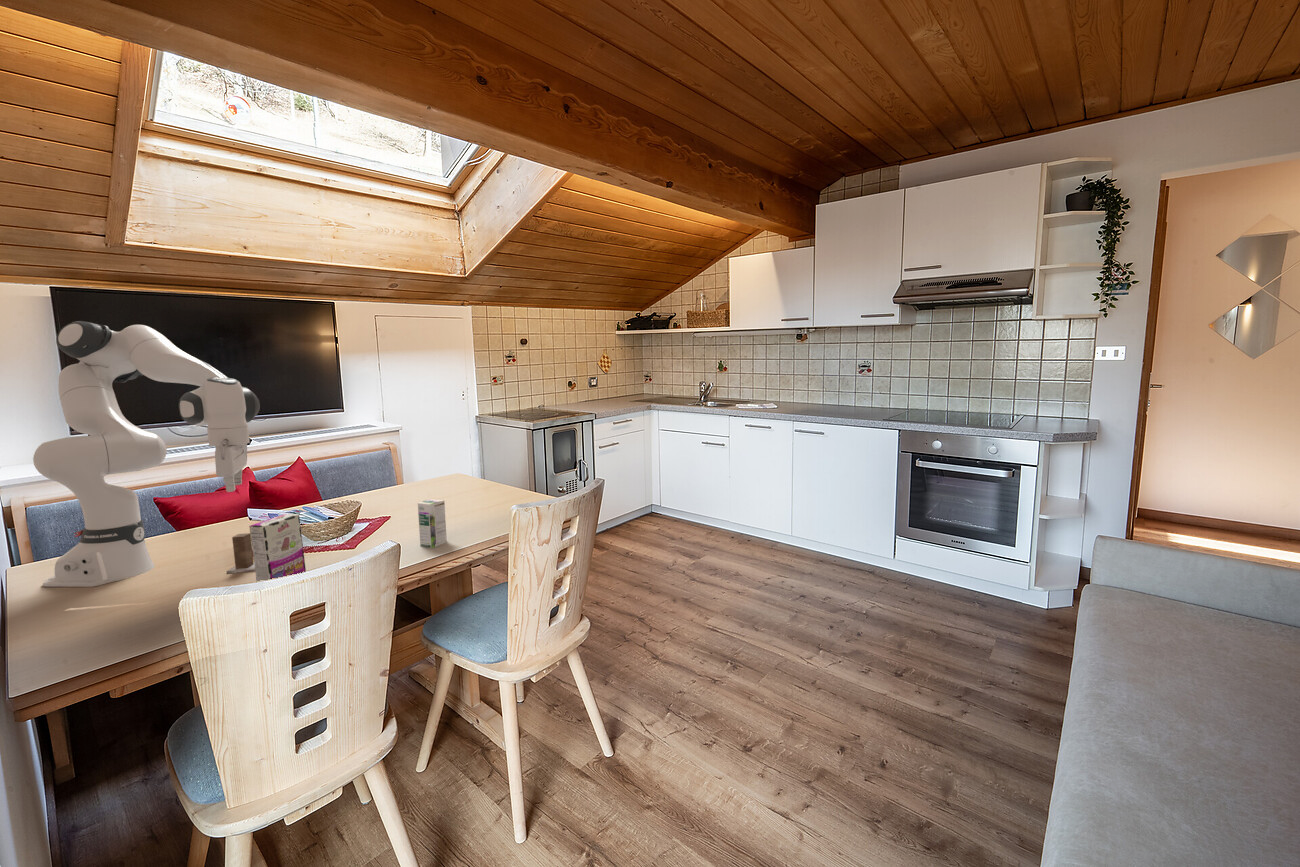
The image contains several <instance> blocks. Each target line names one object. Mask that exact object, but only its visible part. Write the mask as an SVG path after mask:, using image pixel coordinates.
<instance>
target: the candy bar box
mask: <svg viewBox="0 0 1300 867" xmlns="http://www.w3.org/2000/svg"><path fill="white" fill-rule="evenodd" d="M248 527H249V532H250V535H251V544H252V554H253V563H254V565H255V580H256V582H257V581H260V580H268V579H272V578H278V577H283V576H287V575H292V574H297V573H300V572H303V571H305V572H306V571H307V570H306V560H305V554H304V545H303V535H302V528H301V527H302V526H301V519H300V514H299V513H297V514H296V513H284V514H281V515H278V516H275V517H271V518H269V519H268V518H267V519H266V520H265V519H264V520H262V521H260V522H256V523H253V524H251V525H249V526H248ZM303 573H304V572H303Z"/></svg>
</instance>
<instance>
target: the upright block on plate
mask: <svg viewBox="0 0 1300 867" xmlns="http://www.w3.org/2000/svg"><path fill="white" fill-rule="evenodd" d="M231 540H232V546H233V547H232V548H233V556H234V557H233V558H234V565H235V566H233V567H231V568H229V569H228V570H226V574H227V575H228V574H238V573H237V572H243V573H253V572H252V571H255V565H254V557H253V550H252V542H251V535H250V533H249V532H248V533H237V534H236V535H233V536H232V537H231Z"/></svg>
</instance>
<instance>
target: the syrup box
mask: <svg viewBox="0 0 1300 867" xmlns="http://www.w3.org/2000/svg"><path fill="white" fill-rule="evenodd" d="M445 502H446V501H445V500H441V499H440V500H438V499H432V498H431V499H425V500H422V501H419V502H418V503H417V515H418V530H419V546H420V547H424V548H433V549H435V548H437V547H438V546H441V545H445V543H448V541H447V523H446V522H447V521H446V507H445V506H446V505H445Z"/></svg>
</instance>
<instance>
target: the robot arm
mask: <svg viewBox="0 0 1300 867" xmlns="http://www.w3.org/2000/svg"><path fill="white" fill-rule="evenodd" d="M55 343H56V346H57V348H58V349H59V350H60V351H61V352H63V353H64V354H66V355H67V356H69V357H71V358H73V359H77V360H78V361H79V362H78V363H73V364H70V365H67V366H66V367H64V368H63V369H62V370H61V371H60V372H59V375H58V396H59V401H60V405H61V408H62V412H63V415H64V416H63V417H64V419H65V422H66V424H67V425H68V426H69V427H70V428H72V429H73V430H74V431H75V432H78V433H81V434H84V435H81V436H69V437H67V436H66V437H64V438H63V437H62V438H58V439H53V440H49V441H45V442H42V443H41V444H39V445H38V447H37V448H36V449H35V451H34V453H33V458H32V460H33V465H34V468H35V469H36V470H37V472H38V473H39V474H41V475H42V476H43V477H45V478H47V479H49V480H52V481H55V482H57V483H60V484H61V485H62V486H64V487H65V488H67V489H68V490H69V491H71V492H72V493H73V494H74V496H75V497H76V498H77V501H78V502H79V504H80V508H81V511H82V512H81V513H82V515H83V521H84V526H85V527H84V528H83V529H82V530H80V531H76V532H74V538H76V537H79V536H80V538H79V542H78V543H77V544H76V545H74V547H72V548H71V549H70V550H68V551H67V552H66V553H64V554H63V555H62V556H60V557H59V558H58V559H57V560H56V562H55V564H54V575H52V576H51V577H48V578H47V579H46V580H45V579H44V581H43V583H42V586H43V587H69V588H70V587H71V588H72V587H74V588H75V587H81V588H84V587H85V588H87V587H89V588H90V587H91V588H93V587H98V586H102V585H106V584H109V583H113V582H117V581H122V580H126V579H129V578H132V577H136V576H139V575H141V574H145V573H147V572H149V571H151V570H153V569H155V567H156V566H155V563H154V562H153V560H152V558H151V556H150V554H149V553H150V552H149V550H148V548H147V543H146V539H145V538H146V534H145V533H146V532H145V531H146V530H145V525H144V520H143V519H142V518H141V511H140V502H139V496H138V495H137V493H136V492H135V491H133V490H132V489H130V488H126V487H124V486H123V487H122V486H120V485H113V484H109V483H108V482H106V481H105V478H104V477H106V476H108V475H117V474H123V473H124V474H126V473H132V472H141V471H144V470H148V469H152V468H156V467H158V466H160V465H162V463H163V462H164V461H165V458H166V456H167V445H166V443H165V441H164V440H163V439H162V438H161V437H160V435H158V434H156V433H154V432H150V431H147V430H145V429H142V428H140V427H138V426H137V425H135V424H133V423H132V422H131V421H129V419H127V418H126V417H125V416H124V414H123V413H122V410H121V409H120V408H121V407H120V406H119V404H118V400H117V397H116V394H115V391H114V389H113V383H118V384H120V383H121V384H123V383H127V382H128V381H130V380H131V381H132V380H135V379H137V378H139V377H142V376H145V377H147V378H148V379H151V380H153V381H156V382H160V383H161V382H162V383H173V384H183V385H184V384H186V385H193V386H197V387H198V388H196V389H193V390H192V391H191V390H190V391H188V392H186V393H184V394H183V395H182V396H181V397H180V399H179V400H178V405H177V407H178V413H179V416H180V417H181V420H183V421H185V422H186V423H187V424H189V425H192V426H207V427H206V430H207V437H208V438H207V439H208V445H209V446H210V447H214V448H215V449H214V450H215V451H214V460H215V463H214V464H215V473H216V476H217V478H222V480H223V483H224V485H225V490H226V492H227V493H232V492H235V490H236V486H240V485H242V483H243V479H242V477H243V468H245V467H246V466H247V463H248V444H249V443H250V433H249V425H248V423H250V422H251V421H252V420H254V418H256V417H257V416H258V413H259V412H260V410H261V409H260V408H261V404H260V403H261V402H260V400H259V398H258V396H257V395H256V394H255V393H254V392H253V391H252V390H250V389H249V388H248V387H246V386H245V387H244V386H242V384H241V382H240V381H239V380H237V379H235V378H231V377H228V376H226V375H225V374H224V373H222V372H221V371H219V370H218V369H216V368H215V367H213V366H212V365H211V364H209V363H207V362H206V361H203V360H202V359H199V358H197V357H195V356H192V355H191V354H189V353H187V352H185V351H183V350H182V349H181V348H179V347H178V346H176V345H175V344H174V343H173V342H172V341H171V340H170V339H168V338H167V337H166V336H165V335H164V334H162V333H161V332H159V331H157V329H155V328H152V327H151V326H148V325H145V324H131V325H129V326H127V327H125V328H123V329H122V330H120V331H115V330H111V329H110V328H109V326H108V325H105V324H98V323H93V322H90V321H89V322H88V321H85V320H84V321H83V320H76V321H72V322H70V323H67V324H66V325H64V326H63V327H61V329H60V330H59V331H58V333H57V334H56V340H55ZM75 534H76V535H75Z"/></svg>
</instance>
